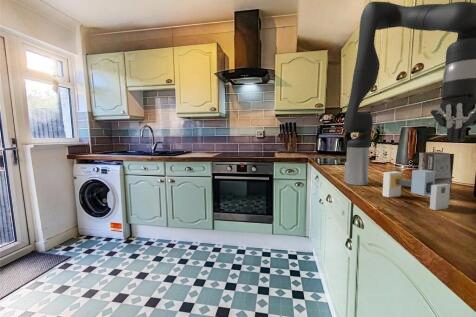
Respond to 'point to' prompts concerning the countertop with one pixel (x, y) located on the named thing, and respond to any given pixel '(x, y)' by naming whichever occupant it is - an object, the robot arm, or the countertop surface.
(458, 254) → the countertop surface
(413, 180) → the notched grey block
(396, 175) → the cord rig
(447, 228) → the countertop surface
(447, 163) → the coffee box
